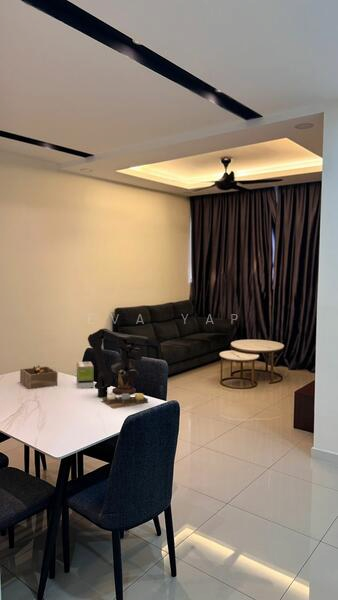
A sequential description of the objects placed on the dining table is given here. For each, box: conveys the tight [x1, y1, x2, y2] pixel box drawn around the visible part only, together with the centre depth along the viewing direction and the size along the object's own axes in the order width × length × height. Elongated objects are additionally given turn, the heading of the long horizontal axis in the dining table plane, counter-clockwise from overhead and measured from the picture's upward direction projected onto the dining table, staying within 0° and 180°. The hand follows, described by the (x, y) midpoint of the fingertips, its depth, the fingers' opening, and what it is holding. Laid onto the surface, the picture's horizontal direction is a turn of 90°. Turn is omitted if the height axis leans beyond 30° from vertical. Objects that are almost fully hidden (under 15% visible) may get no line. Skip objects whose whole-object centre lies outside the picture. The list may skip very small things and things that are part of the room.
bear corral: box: [19, 366, 59, 390], centre depth 277 cm, size 20×18×9 cm
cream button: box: [107, 392, 117, 400], centre depth 238 cm, size 5×5×4 cm
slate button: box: [120, 393, 131, 400], centre depth 239 cm, size 5×5×4 cm
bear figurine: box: [32, 365, 44, 374], centre depth 278 cm, size 14×15×12 cm
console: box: [100, 396, 149, 410], centre depth 239 cm, size 16×23×3 cm
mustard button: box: [134, 392, 145, 400], centre depth 240 cm, size 5×5×4 cm
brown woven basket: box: [111, 362, 137, 396], centre depth 260 cm, size 15×15×20 cm
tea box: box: [76, 361, 95, 389], centre depth 277 cm, size 15×10×15 cm, turn 17°
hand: (124, 385), depth 239 cm, fingers closed
